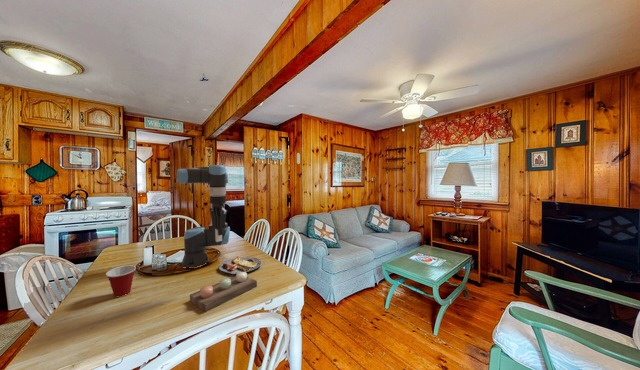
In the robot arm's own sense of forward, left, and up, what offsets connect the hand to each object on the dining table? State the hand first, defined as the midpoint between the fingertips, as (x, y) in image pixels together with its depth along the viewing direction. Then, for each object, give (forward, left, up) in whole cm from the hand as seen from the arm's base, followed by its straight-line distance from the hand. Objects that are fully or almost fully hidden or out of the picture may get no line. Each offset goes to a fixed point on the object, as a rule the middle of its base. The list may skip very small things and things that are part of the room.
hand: (218, 241), depth 114 cm
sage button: (+10, -3, -20) cm, 23 cm away
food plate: (-11, +20, -24) cm, 33 cm away
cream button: (+10, +6, -20) cm, 23 cm away
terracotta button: (+10, -12, -20) cm, 25 cm away
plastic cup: (-30, -32, -23) cm, 50 cm away
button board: (+10, -3, -23) cm, 25 cm away
